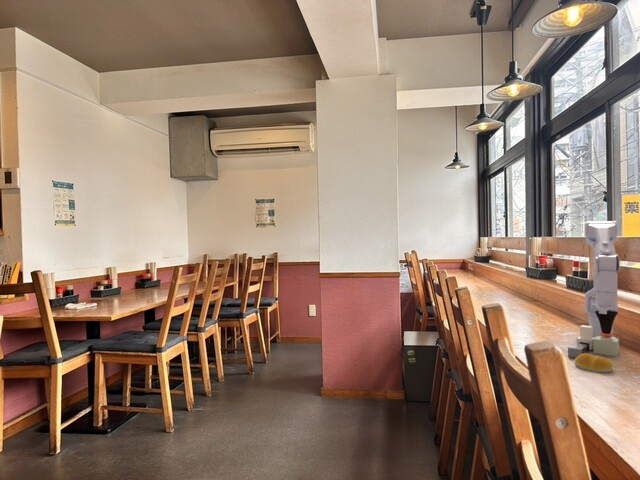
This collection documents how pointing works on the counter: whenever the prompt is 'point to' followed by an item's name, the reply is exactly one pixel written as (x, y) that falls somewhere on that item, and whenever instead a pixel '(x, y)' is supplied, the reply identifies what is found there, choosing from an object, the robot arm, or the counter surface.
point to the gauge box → (606, 346)
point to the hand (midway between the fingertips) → (606, 333)
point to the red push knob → (606, 336)
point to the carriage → (586, 336)
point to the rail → (578, 350)
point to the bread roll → (593, 363)
